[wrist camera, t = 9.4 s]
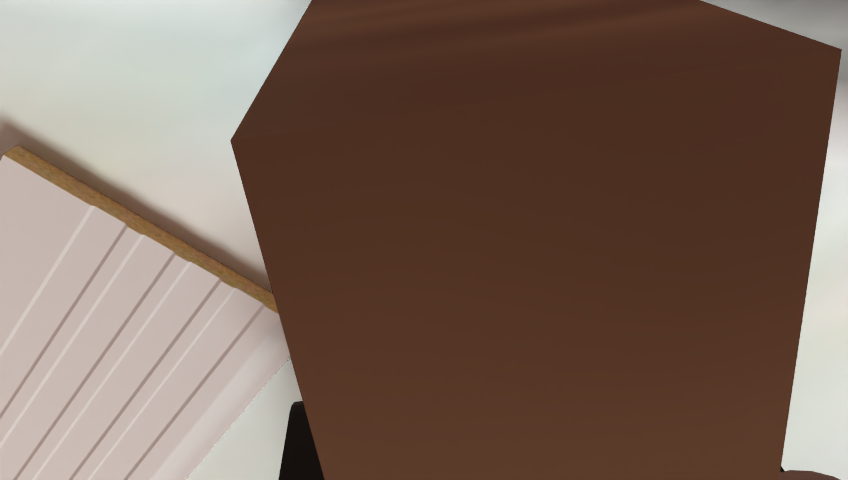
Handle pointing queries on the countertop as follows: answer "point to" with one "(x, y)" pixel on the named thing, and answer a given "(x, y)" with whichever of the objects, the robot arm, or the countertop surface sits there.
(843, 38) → the countertop surface
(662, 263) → the walnut board
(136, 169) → the countertop surface
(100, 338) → the baseboard
